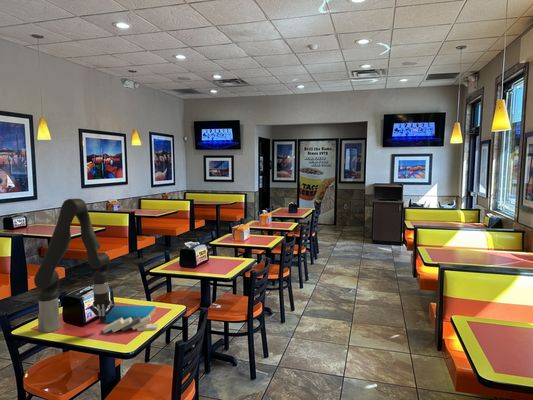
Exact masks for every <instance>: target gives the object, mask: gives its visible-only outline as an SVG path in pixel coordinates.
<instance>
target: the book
mask: <svg viewBox="0 0 533 400" xmlns="http://www.w3.org/2000/svg"><path fill="white" fill-rule="evenodd" d="M156 307H157V306H156V305H115V306H114V307H113V308H112V310H111V311H110V312H109V313H108V315H106V321H105V322H104V323H112V322H114V321H116V320H118V319H120V318H123V320H125V319H127V318H129V317H131V318H132V320H133V319H134V318H136V317H138V316H140V317H141V319H142V318H144V317H146V316H148V315H150V317H151V318H152V316H154V314H155V313H156V312H155V311H157V310H156Z"/></svg>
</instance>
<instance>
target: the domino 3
mask: <svg viewBox="0 0 533 400" xmlns="http://www.w3.org/2000/svg"><path fill="white" fill-rule="evenodd" d="M140 321H141V317H140V316H138V317H136V318H134V319H133V320H132V322H131V324H129V325H127V326H125V327H123V328H121V329H120V330H121V331H122V332H125V331H127V330H129V329H131V328H132V327H133V326H134V325H136V324H138V323H140Z"/></svg>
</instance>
